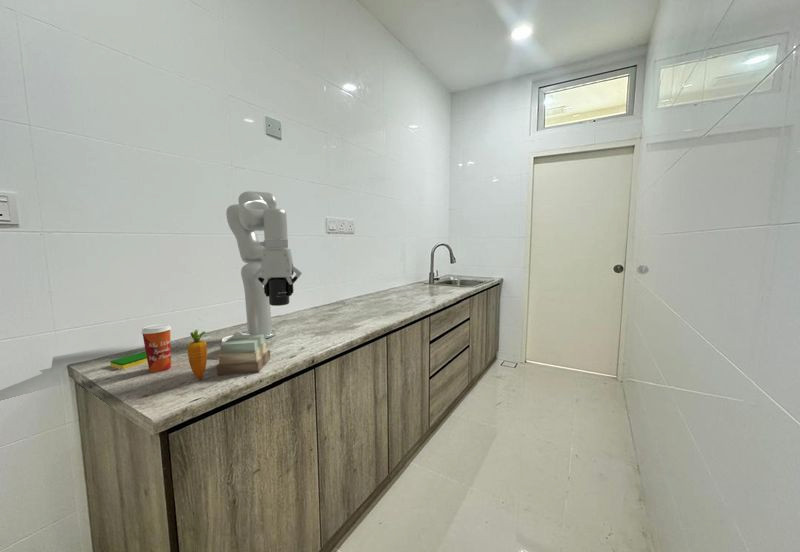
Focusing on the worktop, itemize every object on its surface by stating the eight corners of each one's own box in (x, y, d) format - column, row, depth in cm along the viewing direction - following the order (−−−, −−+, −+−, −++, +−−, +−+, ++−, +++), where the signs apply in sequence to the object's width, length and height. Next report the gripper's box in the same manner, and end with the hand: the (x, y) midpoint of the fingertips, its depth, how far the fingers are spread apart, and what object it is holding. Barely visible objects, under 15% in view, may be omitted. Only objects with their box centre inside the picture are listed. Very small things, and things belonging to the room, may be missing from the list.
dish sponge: (110, 368, 107) (109, 360, 107) (155, 354, 120) (155, 348, 119) (122, 371, 104) (122, 363, 104) (168, 357, 117) (167, 350, 117)
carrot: (195, 376, 97) (191, 327, 96) (212, 375, 97) (208, 326, 96) (186, 383, 92) (181, 332, 91) (204, 382, 92) (200, 331, 91)
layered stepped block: (233, 360, 110) (231, 334, 109) (270, 358, 111) (268, 333, 110) (217, 374, 98) (215, 345, 97) (258, 372, 99) (256, 343, 98)
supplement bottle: (283, 306, 111) (281, 271, 110) (265, 305, 112) (263, 271, 111) (293, 302, 118) (291, 269, 116) (276, 302, 119) (274, 269, 118)
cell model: (216, 357, 114) (215, 338, 113) (229, 346, 126) (227, 329, 125) (247, 355, 116) (245, 336, 115) (256, 344, 127) (255, 328, 127)
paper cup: (151, 375, 99) (146, 330, 97) (140, 370, 103) (136, 327, 101) (179, 367, 105) (175, 324, 104) (168, 362, 109) (164, 322, 108)
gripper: (246, 245, 108) (249, 298, 110) (299, 244, 110) (302, 296, 112) (254, 245, 115) (257, 294, 118) (304, 244, 117) (306, 293, 119)
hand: (279, 295), depth 115 cm, fingers closed on supplement bottle, 6 cm apart
